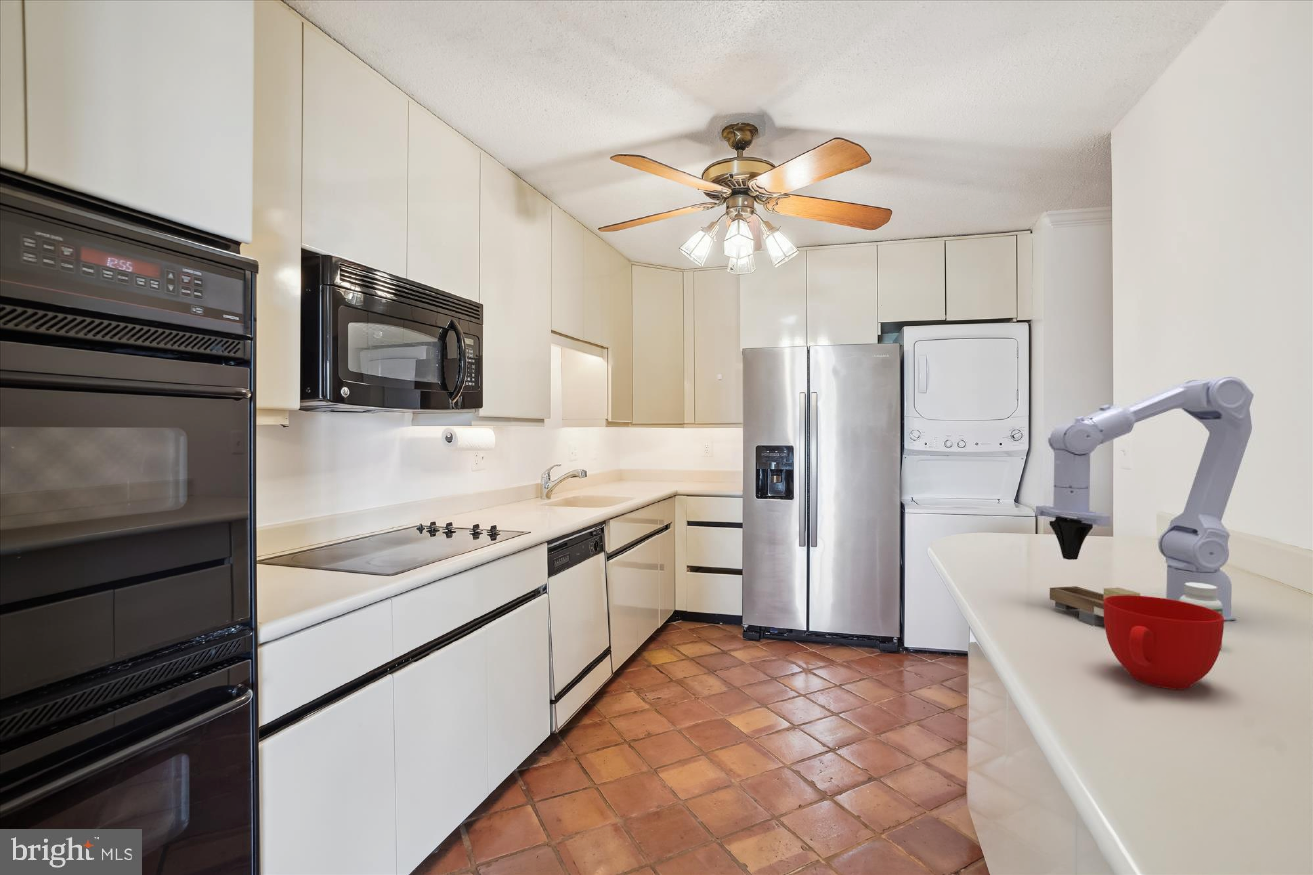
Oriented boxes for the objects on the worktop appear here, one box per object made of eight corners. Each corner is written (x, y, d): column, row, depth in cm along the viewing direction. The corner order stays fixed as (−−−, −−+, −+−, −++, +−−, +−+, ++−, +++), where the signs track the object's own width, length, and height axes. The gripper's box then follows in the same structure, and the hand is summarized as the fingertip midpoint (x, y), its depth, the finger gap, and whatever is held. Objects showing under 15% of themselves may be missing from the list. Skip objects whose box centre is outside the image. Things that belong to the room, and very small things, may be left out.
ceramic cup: (1076, 682, 86) (1077, 608, 86) (1119, 656, 96) (1121, 590, 96) (1198, 717, 76) (1200, 634, 76) (1233, 684, 86) (1235, 610, 86)
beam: (1077, 607, 123) (1077, 586, 122) (1166, 636, 106) (1166, 611, 106) (1047, 609, 121) (1047, 587, 121) (1132, 638, 104) (1132, 613, 104)
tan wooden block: (1118, 605, 112) (1118, 587, 112) (1139, 611, 108) (1140, 593, 108) (1103, 606, 112) (1103, 588, 112) (1124, 612, 108) (1125, 594, 108)
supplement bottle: (1185, 637, 106) (1186, 579, 105) (1227, 646, 101) (1228, 586, 101) (1172, 642, 103) (1173, 583, 103) (1215, 652, 98) (1216, 590, 98)
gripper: (1023, 483, 126) (1022, 552, 126) (1088, 491, 112) (1086, 567, 112) (1053, 483, 128) (1051, 550, 128) (1120, 490, 114) (1119, 566, 114)
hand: (1070, 558), depth 120 cm, fingers closed
